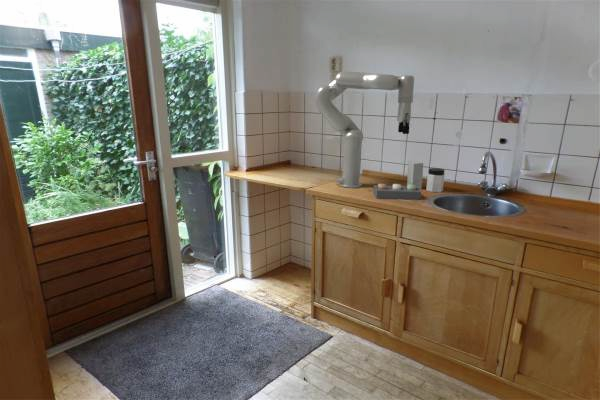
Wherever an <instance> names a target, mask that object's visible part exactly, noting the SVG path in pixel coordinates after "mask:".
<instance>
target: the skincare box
mask: <svg viewBox="0 0 600 400" xmlns="http://www.w3.org/2000/svg"><path fill="white" fill-rule="evenodd" d="M423 173H424V163H423V162H421V161H419V160H418V161H417V160H413V161H410V160H409V161H408V162H407V178H406V180H407V181H406V186H407V185H408V184H413V185H416V188H417V189H418V190H422V189H423V188H422V187H423V177H424V175H423Z"/></svg>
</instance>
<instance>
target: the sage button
mask: <svg viewBox="0 0 600 400" xmlns="http://www.w3.org/2000/svg"><path fill="white" fill-rule="evenodd" d="M406 186H407V190H416V185H413V184H408V185H407V184H406Z"/></svg>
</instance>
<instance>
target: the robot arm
mask: <svg viewBox="0 0 600 400" xmlns="http://www.w3.org/2000/svg"><path fill="white" fill-rule="evenodd" d="M414 85H415V77H414V76H413V75H411V74H410V75H407V74H406V75H401V76H397V75H393V74H383V73H381V74H380V73H378V74H377V73H370V72H359V71H357V72H356V71H339V72H338V73H337V74H336V75H335V77H334V79H333V81H331V82H330V83H329V84H328V85H326V84H325V85H322V86H320V87H319V88H318V89H317V91H316V94H315V105H316V108H317V110H318V111H319V112H320V114H321V115H322V116H323V117H324V119H325V120H326V122H328V124H329V125H330V126H331V128H333V130H334V131H335V132H336V133H339V134H341V135H342V137H343V163H342V176H341V177H339V178H338V177H337V178H336V177H335V178H334V182H337V183H339V186H340V187H342V188H350V189H357V188H361V187H362V183H361V182H360V174H361V173H360V172H361V154H362V152H361V151H362V142H363V141H364V133H363V132H362V130H361V129H360V128H359V127H358V126H357V125H356V123H355V122H354V121H353V120H352V119H351V118H350V117H349V116H348V115H346V114H343V113H342V112H341V111H340V110H339V109H338V108H337V107H336V105H335V104H334V103H333V102H332V101H334V100H335V99H336V98H337V97H339V96H340V95H341V94H343V93H344V92H345V91H346V90H347V89H354V90H381V91H382V90H385V91H397V90H398V93H397V94H398V96H397V103H398V107H397V108H398V109H397V117H396V119H397V120H396V121H397V122H398V127H397V128H398V129H397V131H398V133H402V135H408V134H410V123H411V116H412V115H411V114H412V103H413V102H414V89H415V88H414Z"/></svg>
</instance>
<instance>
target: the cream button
mask: <svg viewBox="0 0 600 400" xmlns="http://www.w3.org/2000/svg"><path fill="white" fill-rule="evenodd" d="M392 186H393V187H392V190H401V186H402V184H400V183H393V184H392Z"/></svg>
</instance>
